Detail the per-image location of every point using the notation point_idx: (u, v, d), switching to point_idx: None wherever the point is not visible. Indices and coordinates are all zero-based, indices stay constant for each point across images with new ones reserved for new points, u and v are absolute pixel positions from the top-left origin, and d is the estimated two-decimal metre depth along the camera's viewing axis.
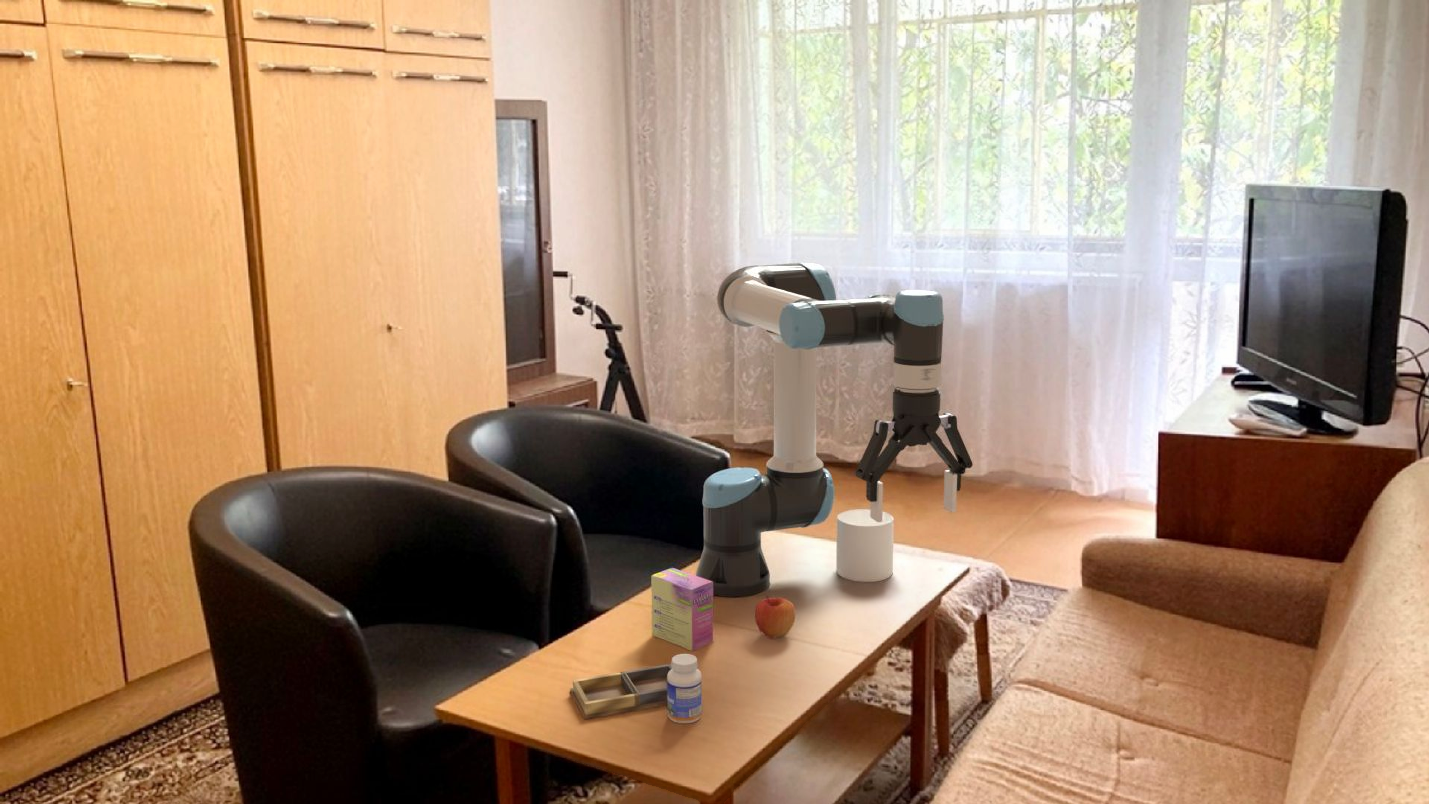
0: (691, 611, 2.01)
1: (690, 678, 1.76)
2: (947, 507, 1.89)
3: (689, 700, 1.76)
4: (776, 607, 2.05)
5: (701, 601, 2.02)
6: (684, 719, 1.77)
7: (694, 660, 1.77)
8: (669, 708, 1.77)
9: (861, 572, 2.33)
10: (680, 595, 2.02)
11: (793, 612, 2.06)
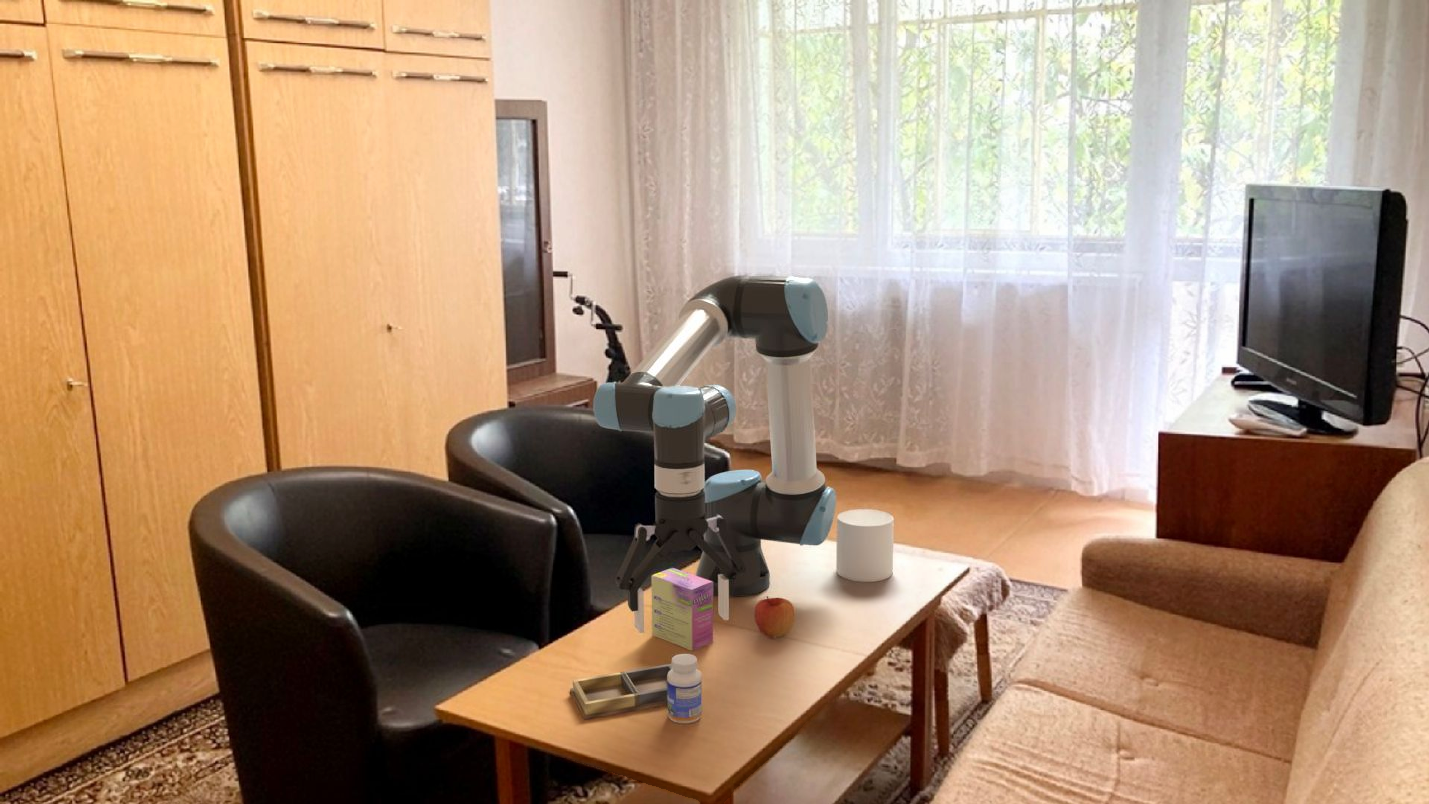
0: (691, 611, 2.01)
1: (690, 678, 1.76)
2: (721, 613, 1.77)
3: (689, 700, 1.76)
4: (776, 607, 2.05)
5: (701, 601, 2.02)
6: (684, 719, 1.77)
7: (694, 660, 1.77)
8: (669, 708, 1.77)
9: (861, 572, 2.33)
10: (680, 595, 2.02)
11: (793, 612, 2.06)
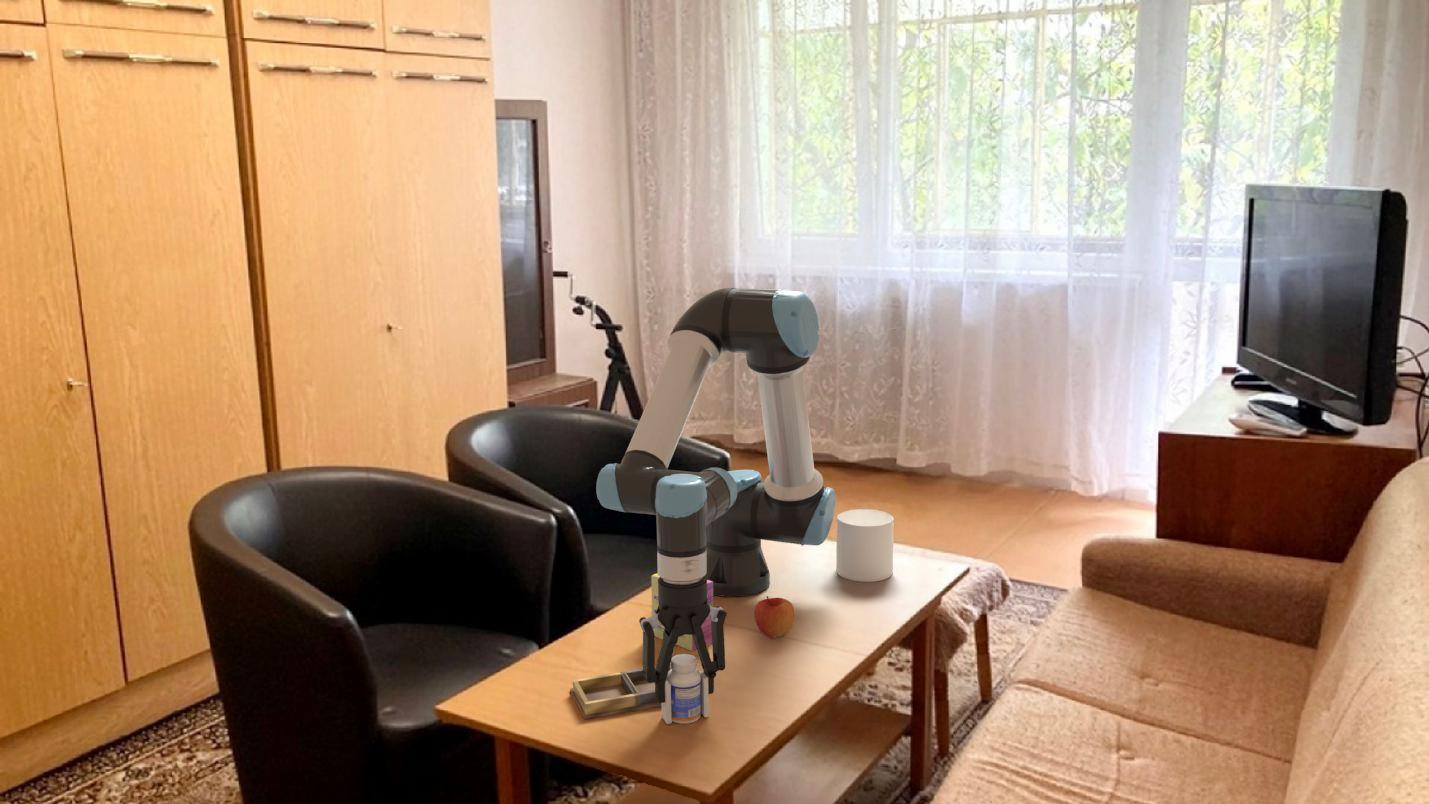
0: None
1: (689, 678, 1.76)
2: (701, 710, 1.80)
3: (689, 700, 1.76)
4: (776, 607, 2.05)
5: None
6: (684, 719, 1.76)
7: (693, 660, 1.77)
8: None
9: (861, 572, 2.33)
10: None
11: (793, 612, 2.06)
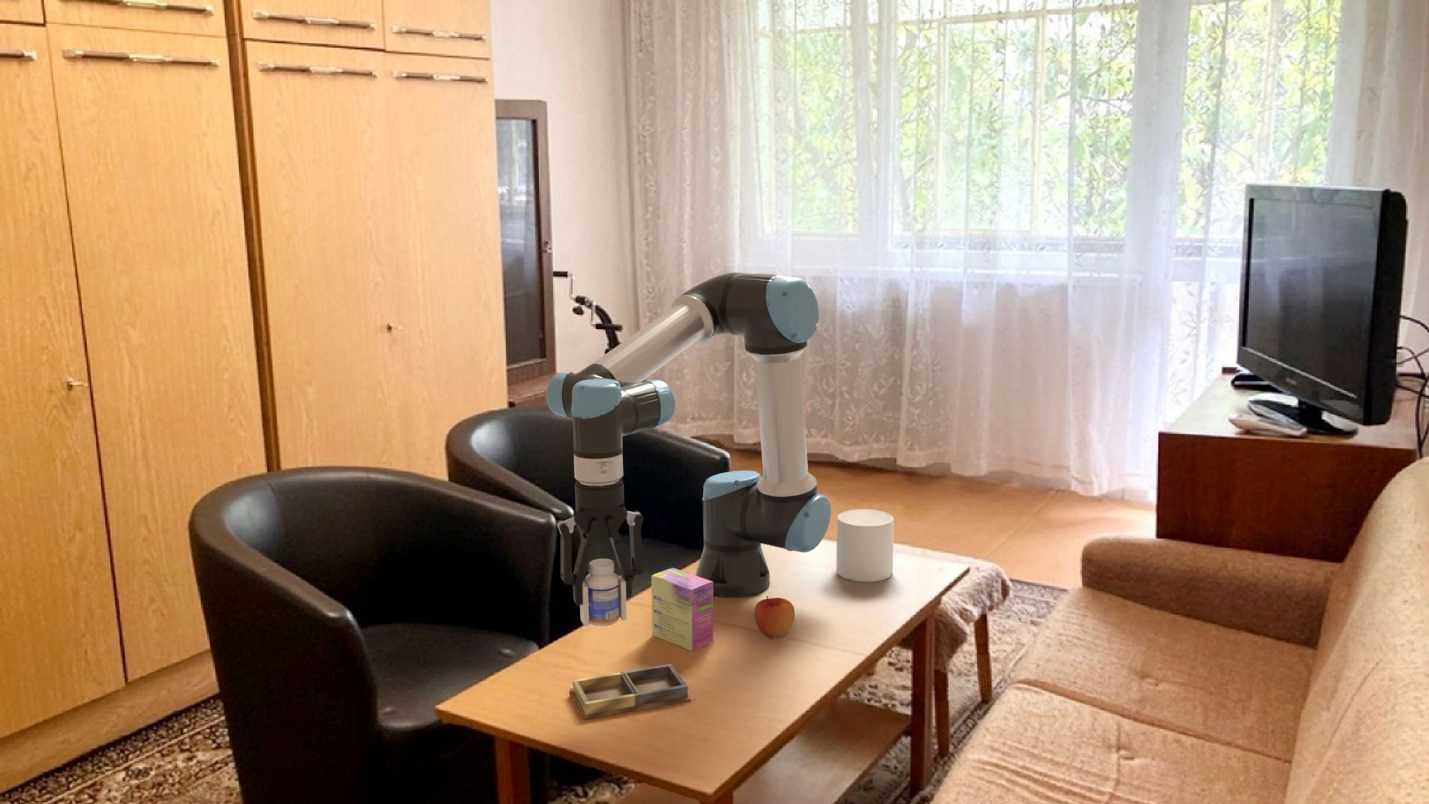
0: (691, 611, 2.01)
1: (606, 581, 1.78)
2: (619, 614, 1.83)
3: (606, 603, 1.79)
4: (776, 607, 2.05)
5: (701, 601, 2.02)
6: (601, 621, 1.79)
7: (611, 564, 1.80)
8: None
9: (861, 572, 2.33)
10: (680, 595, 2.02)
11: (793, 612, 2.06)
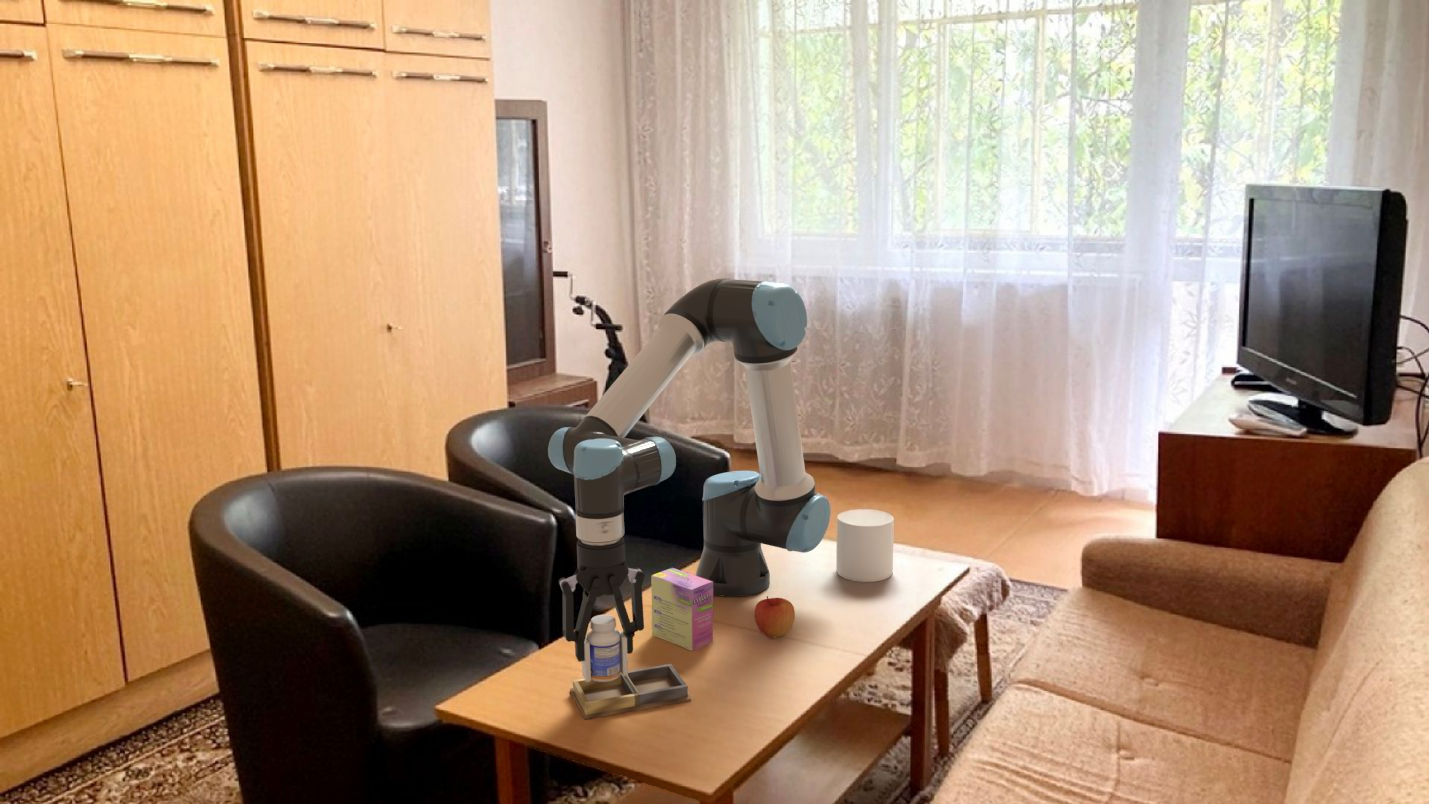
0: (691, 611, 2.01)
1: (608, 638, 1.81)
2: (621, 669, 1.85)
3: (607, 659, 1.81)
4: (776, 607, 2.05)
5: (701, 601, 2.02)
6: (602, 677, 1.82)
7: (612, 620, 1.82)
8: None
9: (861, 572, 2.33)
10: (680, 595, 2.02)
11: (793, 612, 2.06)
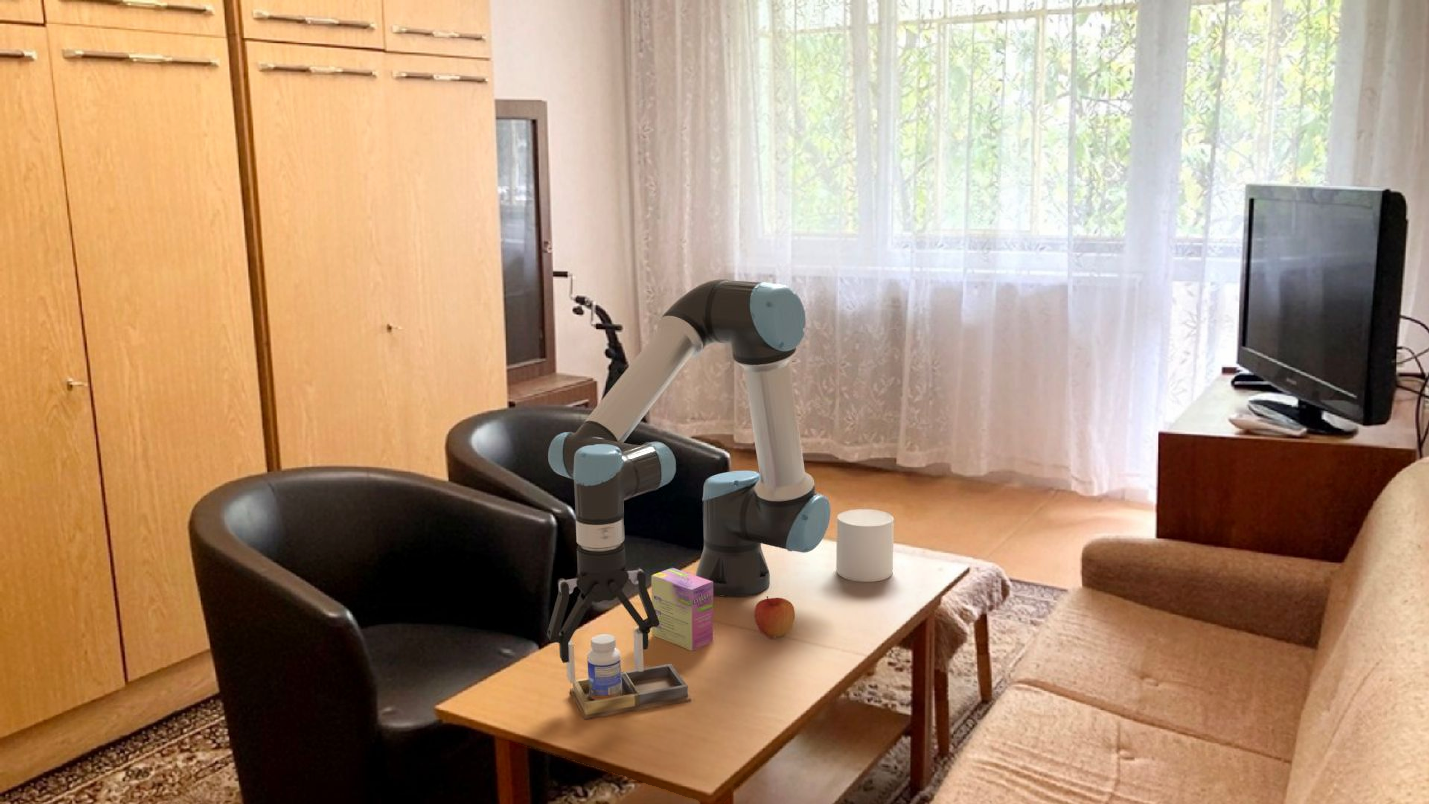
0: (691, 611, 2.01)
1: (608, 657, 1.82)
2: (636, 665, 1.86)
3: (608, 678, 1.82)
4: (776, 607, 2.05)
5: (701, 601, 2.02)
6: (604, 697, 1.82)
7: (612, 639, 1.83)
8: (590, 686, 1.84)
9: (861, 572, 2.33)
10: (680, 595, 2.02)
11: (793, 612, 2.06)
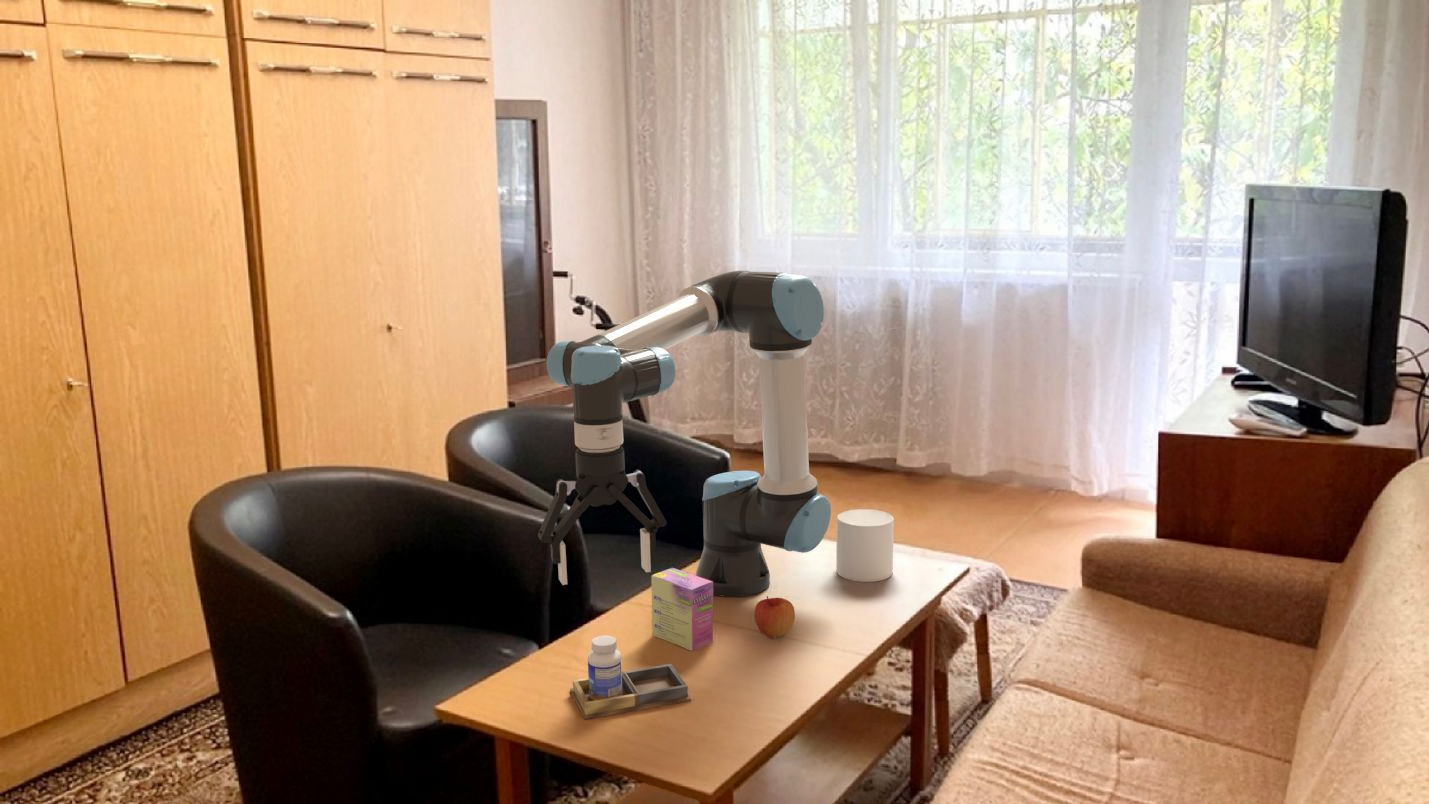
0: (691, 611, 2.01)
1: (608, 659, 1.82)
2: (643, 566, 1.83)
3: (608, 680, 1.82)
4: (776, 607, 2.05)
5: (701, 601, 2.02)
6: (604, 698, 1.83)
7: (613, 641, 1.83)
8: (590, 687, 1.84)
9: (861, 572, 2.33)
10: (680, 595, 2.02)
11: (793, 612, 2.06)
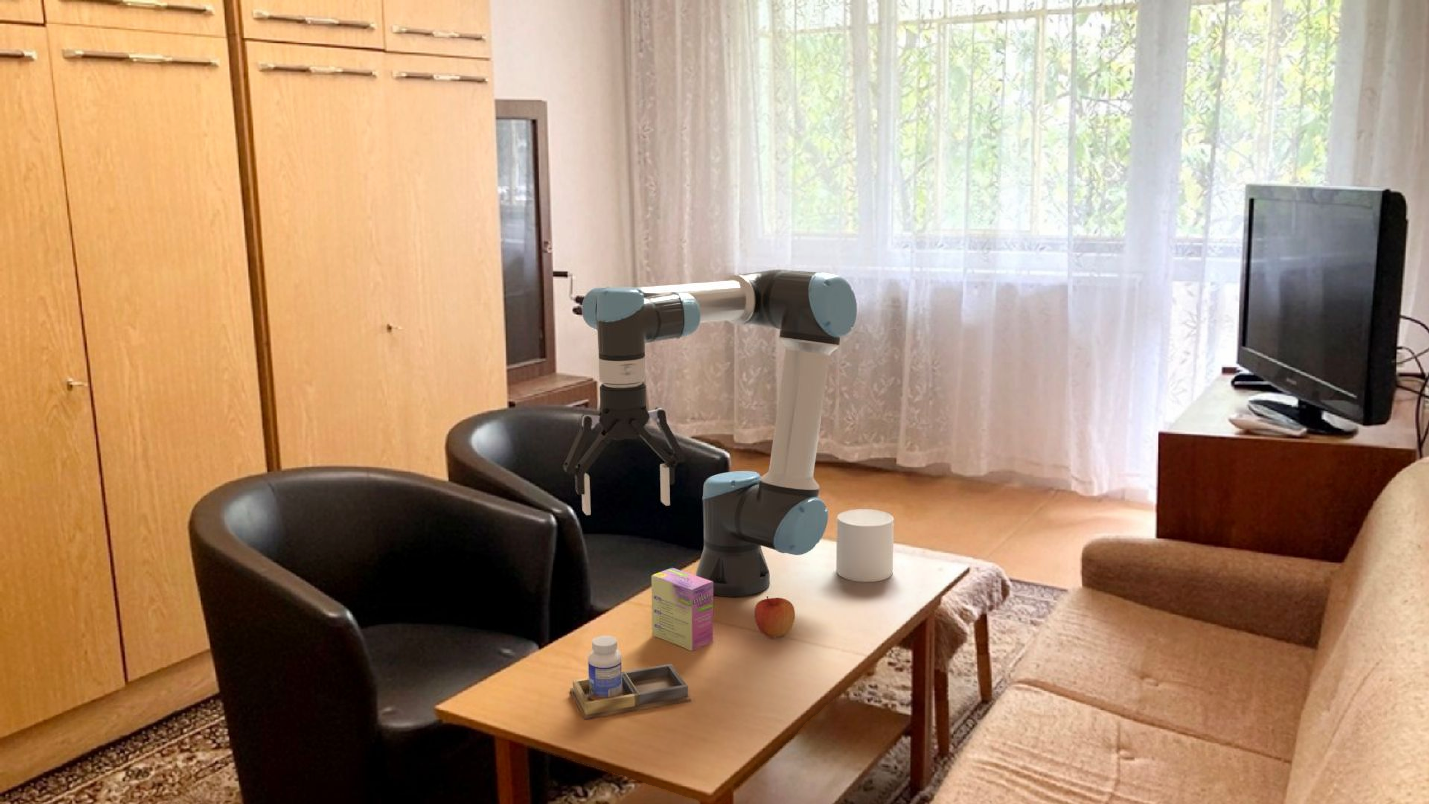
0: (691, 611, 2.01)
1: (609, 659, 1.82)
2: (663, 500, 1.92)
3: (608, 680, 1.82)
4: (776, 607, 2.05)
5: (701, 601, 2.02)
6: (604, 698, 1.83)
7: (613, 642, 1.83)
8: (590, 687, 1.84)
9: (861, 572, 2.33)
10: (680, 595, 2.02)
11: (793, 612, 2.06)
